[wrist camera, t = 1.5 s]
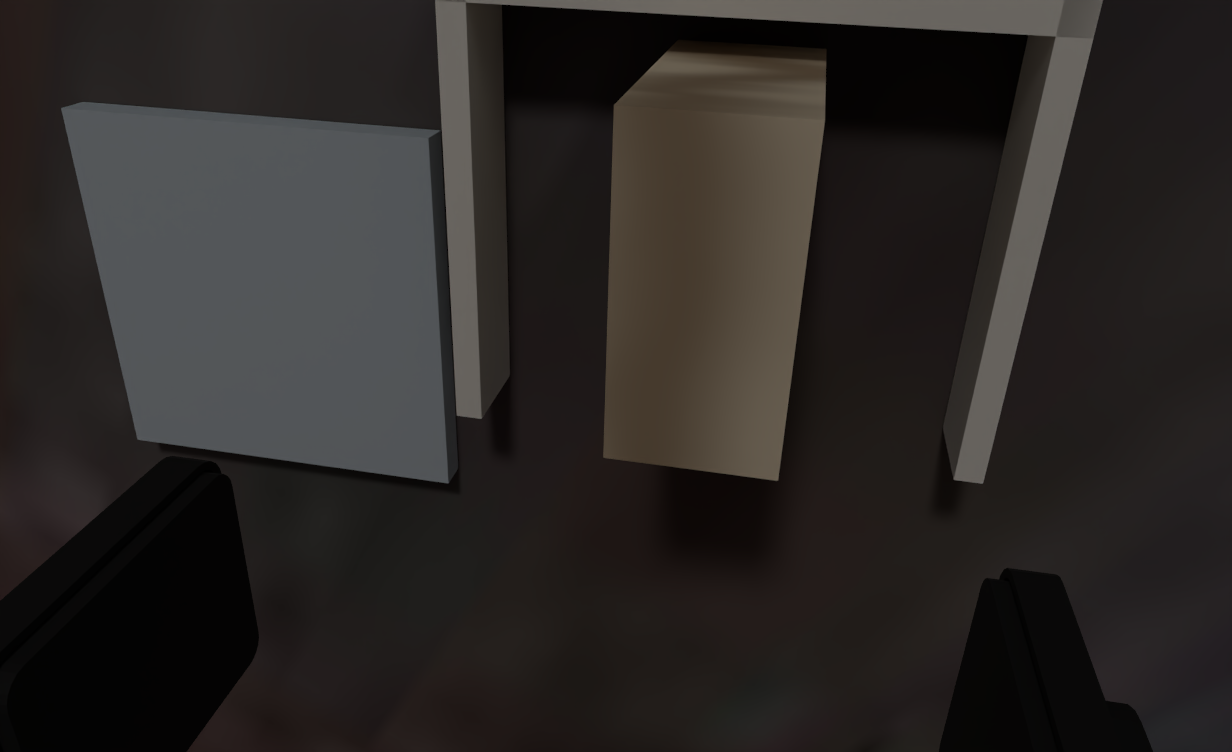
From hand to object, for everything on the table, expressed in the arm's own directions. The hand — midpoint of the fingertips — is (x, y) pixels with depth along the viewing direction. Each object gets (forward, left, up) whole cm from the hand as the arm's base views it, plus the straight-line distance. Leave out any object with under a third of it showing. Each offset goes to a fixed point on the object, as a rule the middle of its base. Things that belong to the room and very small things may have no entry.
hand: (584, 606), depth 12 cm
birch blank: (0, 0, -19) cm, 19 cm away
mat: (+15, +5, -18) cm, 24 cm away
